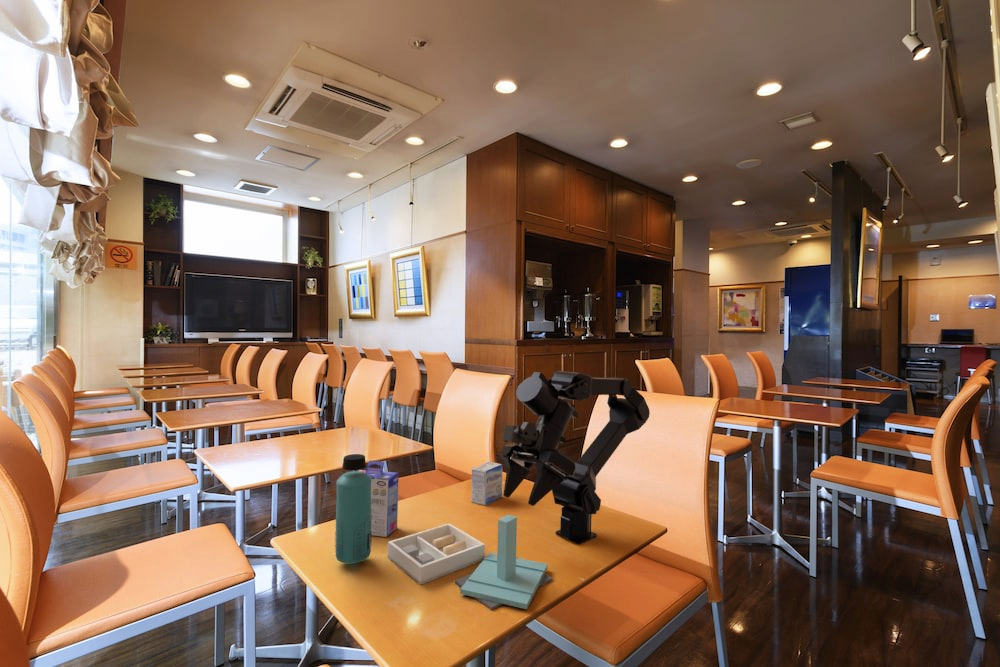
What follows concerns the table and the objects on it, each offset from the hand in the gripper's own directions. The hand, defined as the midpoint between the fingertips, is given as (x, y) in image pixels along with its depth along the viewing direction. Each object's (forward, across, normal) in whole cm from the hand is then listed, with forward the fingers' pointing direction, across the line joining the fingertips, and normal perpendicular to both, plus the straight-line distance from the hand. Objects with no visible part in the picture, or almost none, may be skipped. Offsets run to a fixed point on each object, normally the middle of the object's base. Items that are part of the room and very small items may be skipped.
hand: (517, 500), depth 87 cm
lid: (+13, +3, +3) cm, 13 cm away
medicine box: (0, -33, +12) cm, 35 cm away
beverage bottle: (+23, -15, -17) cm, 33 cm away
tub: (+16, -10, -5) cm, 19 cm away
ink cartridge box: (+18, -28, -13) cm, 35 cm away
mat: (+13, +2, +3) cm, 14 cm away
